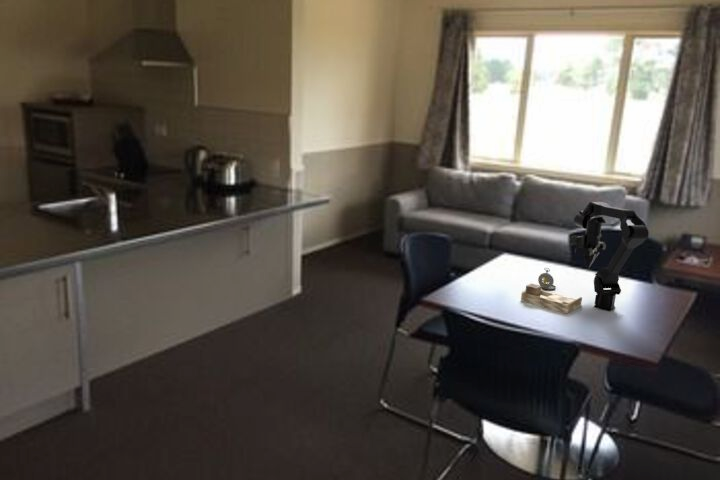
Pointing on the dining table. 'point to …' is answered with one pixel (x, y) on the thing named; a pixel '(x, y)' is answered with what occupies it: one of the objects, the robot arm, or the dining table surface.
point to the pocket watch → (547, 279)
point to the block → (533, 289)
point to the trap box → (552, 301)
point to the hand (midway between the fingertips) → (587, 267)
